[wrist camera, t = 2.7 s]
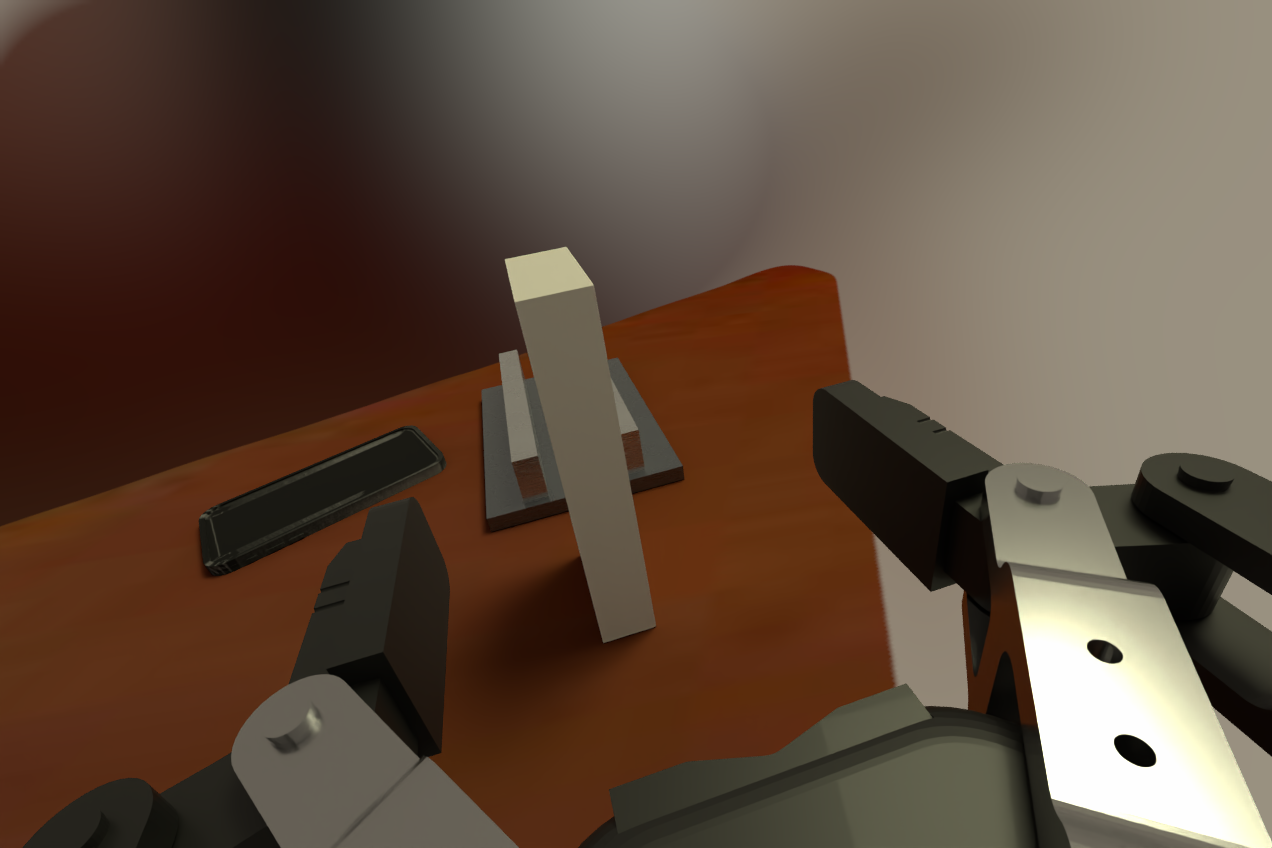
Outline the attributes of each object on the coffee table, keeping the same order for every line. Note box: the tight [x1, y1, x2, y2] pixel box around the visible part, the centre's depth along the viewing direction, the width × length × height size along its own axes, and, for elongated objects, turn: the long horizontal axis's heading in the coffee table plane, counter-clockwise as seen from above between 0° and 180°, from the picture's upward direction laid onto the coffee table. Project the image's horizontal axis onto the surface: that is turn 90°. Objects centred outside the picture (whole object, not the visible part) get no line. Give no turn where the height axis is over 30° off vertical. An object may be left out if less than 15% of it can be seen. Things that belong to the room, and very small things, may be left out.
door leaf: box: [505, 247, 656, 643], centre depth 24 cm, size 3×6×16 cm, turn 14°
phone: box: [199, 426, 446, 576], centre depth 39 cm, size 8×1×15 cm
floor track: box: [482, 350, 684, 532], centre depth 41 cm, size 12×18×4 cm, turn 15°
